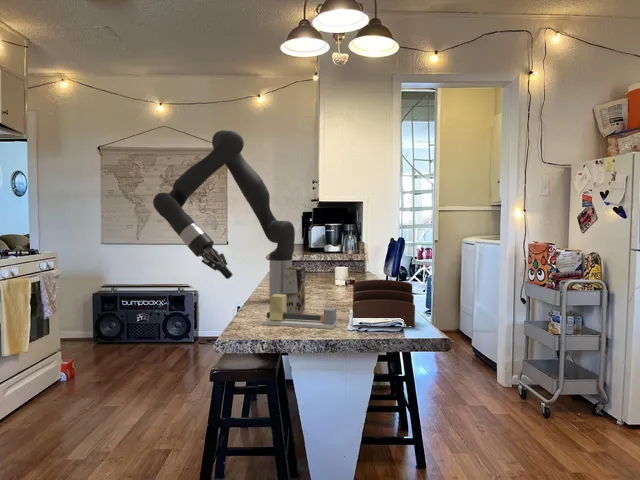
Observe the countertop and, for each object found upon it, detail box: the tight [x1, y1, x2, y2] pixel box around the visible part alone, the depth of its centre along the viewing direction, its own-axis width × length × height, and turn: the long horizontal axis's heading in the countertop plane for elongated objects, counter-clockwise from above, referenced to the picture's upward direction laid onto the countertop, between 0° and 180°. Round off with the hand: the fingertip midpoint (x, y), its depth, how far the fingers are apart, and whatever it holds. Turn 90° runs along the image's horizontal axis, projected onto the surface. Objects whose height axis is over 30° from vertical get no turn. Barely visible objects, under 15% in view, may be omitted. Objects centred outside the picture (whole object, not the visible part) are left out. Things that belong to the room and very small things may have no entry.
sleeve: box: [269, 294, 287, 320], centre depth 148 cm, size 5×4×8 cm
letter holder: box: [352, 279, 416, 328], centre depth 149 cm, size 10×20×14 cm, turn 84°
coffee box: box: [283, 266, 306, 314], centre depth 167 cm, size 9×6×16 cm
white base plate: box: [262, 307, 339, 330], centre depth 147 cm, size 8×23×5 cm, turn 77°
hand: (230, 276), depth 152 cm, fingers closed
